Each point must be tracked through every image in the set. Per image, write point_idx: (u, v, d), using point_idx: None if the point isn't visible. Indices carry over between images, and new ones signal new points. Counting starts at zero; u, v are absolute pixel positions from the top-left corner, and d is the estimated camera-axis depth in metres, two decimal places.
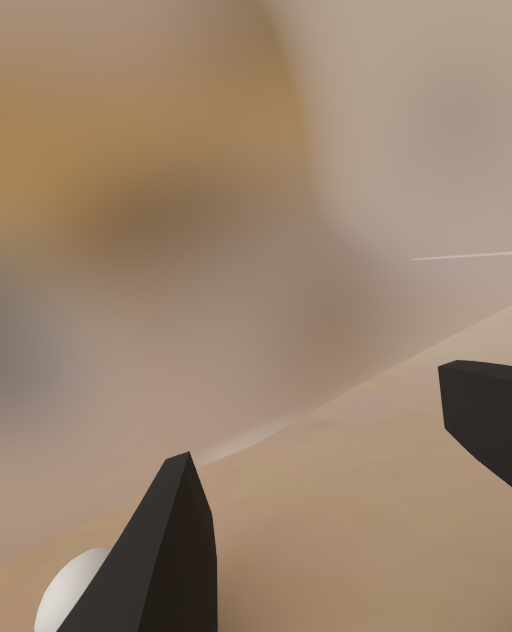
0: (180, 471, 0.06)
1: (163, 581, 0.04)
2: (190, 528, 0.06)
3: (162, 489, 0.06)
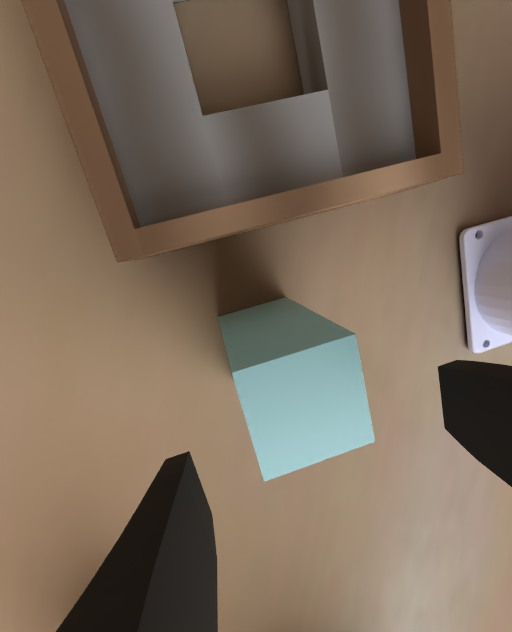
0: (180, 471, 0.06)
1: (163, 581, 0.04)
2: (190, 528, 0.06)
3: (162, 489, 0.06)
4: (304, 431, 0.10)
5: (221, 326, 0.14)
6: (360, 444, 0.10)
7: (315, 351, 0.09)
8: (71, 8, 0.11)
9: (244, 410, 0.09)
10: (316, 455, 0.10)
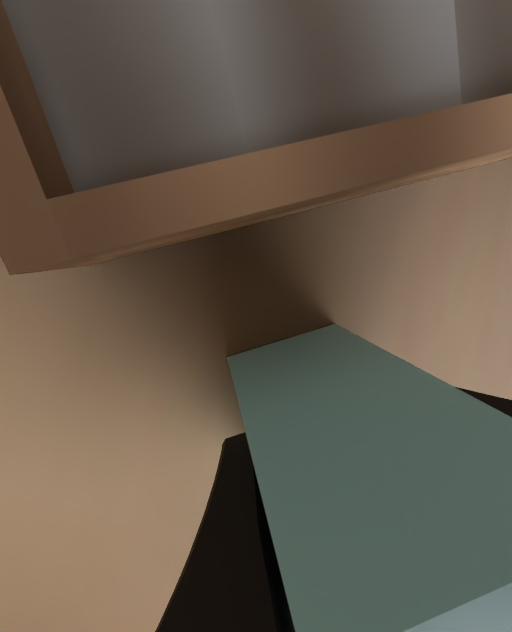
0: (248, 447, 0.07)
1: (263, 542, 0.05)
2: None
3: (236, 463, 0.06)
4: None
5: (236, 385, 0.08)
6: None
7: None
8: None
9: None
10: None
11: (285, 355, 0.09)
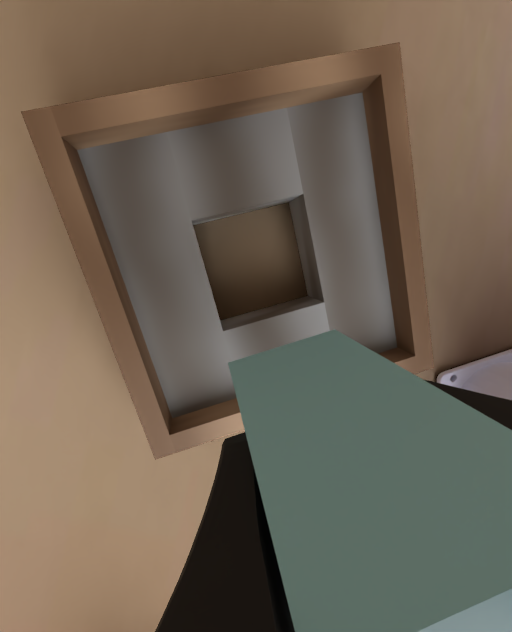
0: (248, 447, 0.07)
1: (263, 542, 0.05)
2: None
3: (236, 463, 0.06)
4: None
5: (237, 391, 0.08)
6: None
7: None
8: (122, 268, 0.14)
9: None
10: None
11: (286, 361, 0.09)
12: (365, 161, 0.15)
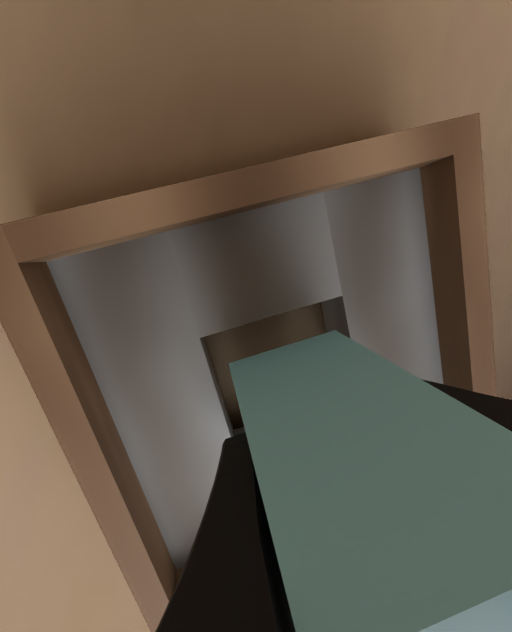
0: (248, 447, 0.07)
1: (263, 542, 0.05)
2: None
3: (236, 463, 0.06)
4: None
5: (238, 392, 0.08)
6: None
7: None
8: (110, 402, 0.11)
9: None
10: None
11: (286, 362, 0.09)
12: (420, 251, 0.12)
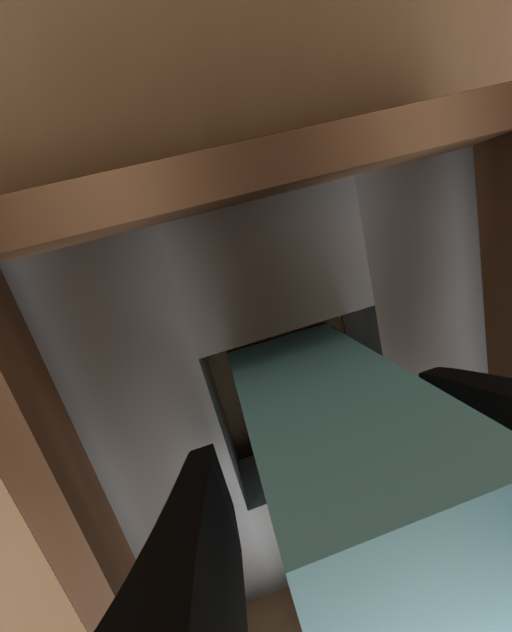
0: (207, 461, 0.07)
1: (204, 565, 0.04)
2: (220, 517, 0.06)
3: (192, 479, 0.06)
4: None
5: (235, 377, 0.09)
6: None
7: (478, 506, 0.04)
8: (86, 440, 0.08)
9: None
10: None
11: (280, 351, 0.10)
12: (470, 250, 0.09)
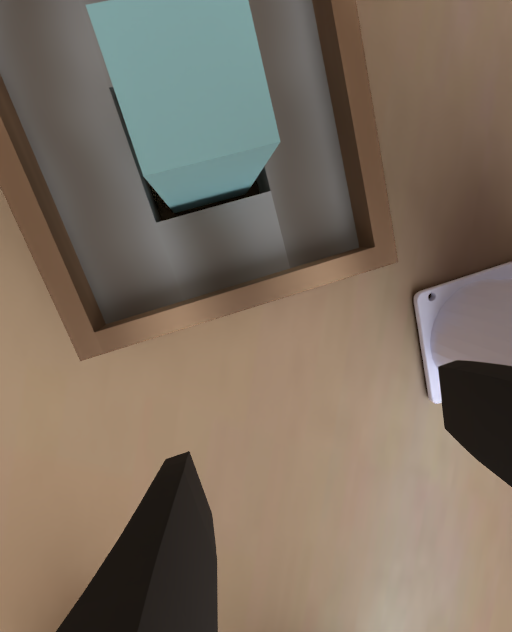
0: (180, 471, 0.06)
1: (163, 581, 0.04)
2: (190, 528, 0.06)
3: (162, 489, 0.06)
4: (188, 110, 0.08)
5: None
6: (262, 142, 0.09)
7: None
8: (34, 143, 0.12)
9: (107, 64, 0.08)
10: (206, 149, 0.08)
11: None
12: (308, 19, 0.13)
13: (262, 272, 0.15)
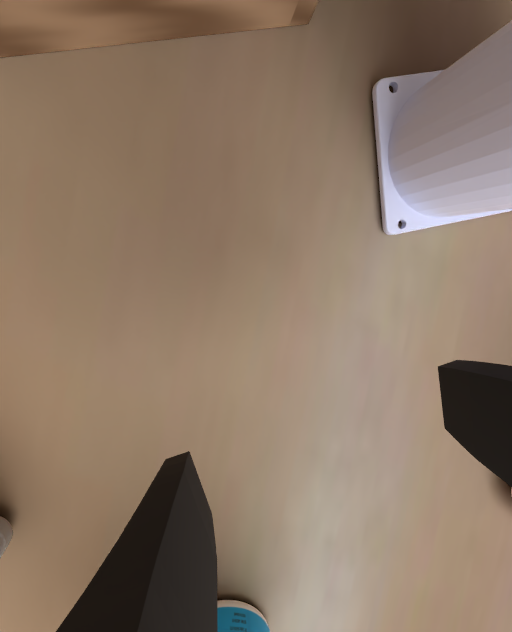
0: (180, 471, 0.06)
1: (163, 581, 0.04)
2: (190, 528, 0.06)
3: (162, 489, 0.06)
4: None
5: None
6: None
7: None
8: None
9: None
10: None
11: None
12: None
13: None
